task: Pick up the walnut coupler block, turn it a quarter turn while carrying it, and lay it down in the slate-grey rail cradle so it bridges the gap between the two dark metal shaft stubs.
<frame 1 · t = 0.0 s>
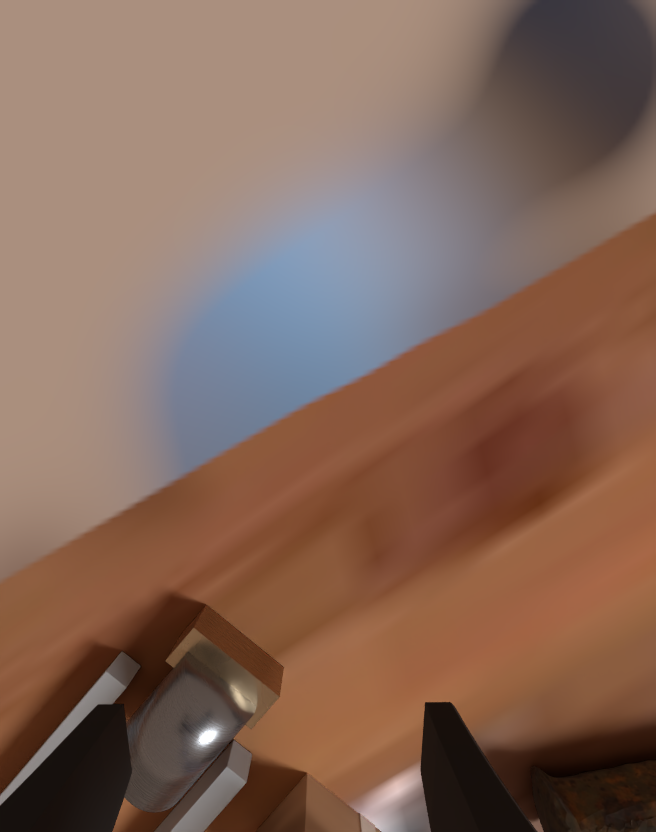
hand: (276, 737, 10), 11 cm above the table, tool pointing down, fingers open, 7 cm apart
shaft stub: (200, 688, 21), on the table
cradle: (99, 805, 21), on the table
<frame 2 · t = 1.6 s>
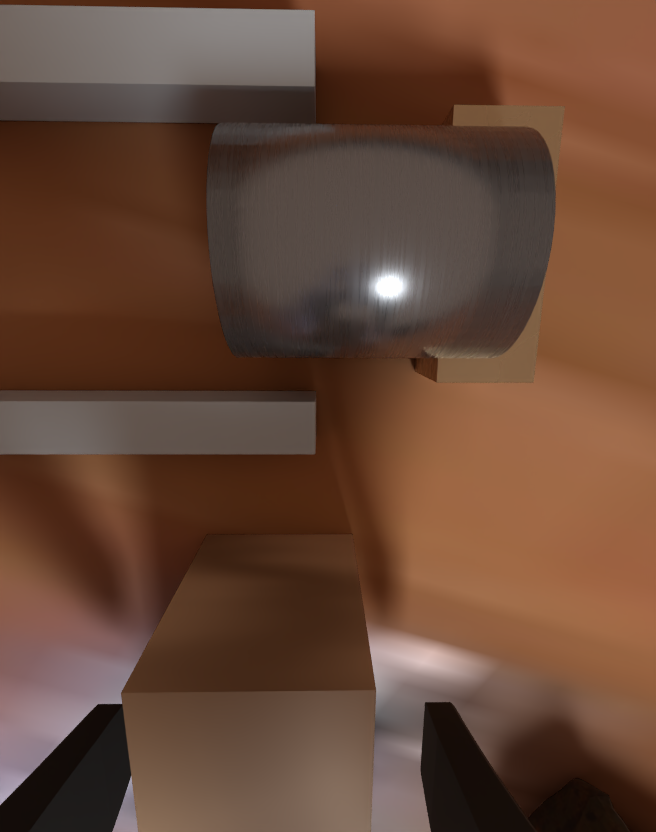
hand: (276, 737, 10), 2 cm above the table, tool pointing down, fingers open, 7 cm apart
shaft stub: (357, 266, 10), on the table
coupler block: (282, 657, 12), on the table
cradle: (18, 264, 10), on the table
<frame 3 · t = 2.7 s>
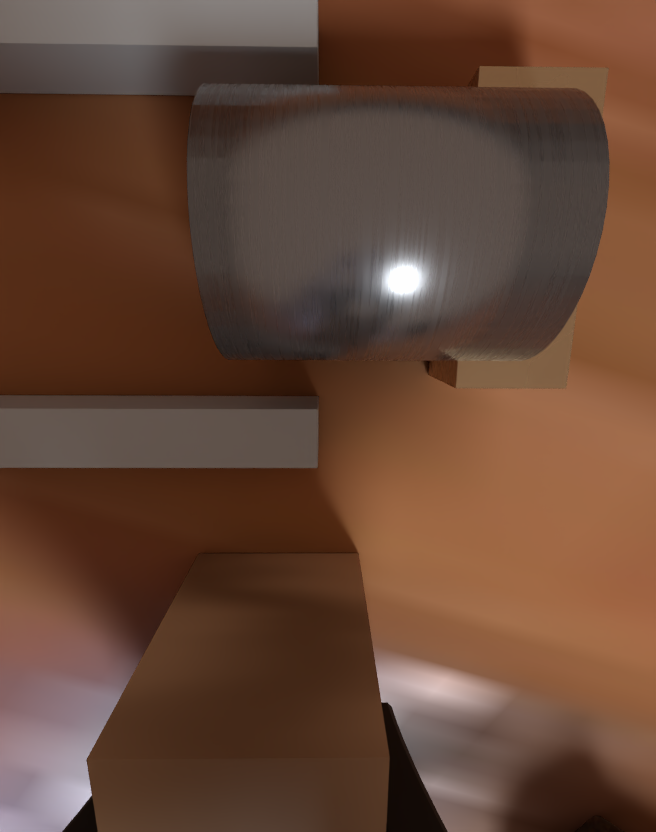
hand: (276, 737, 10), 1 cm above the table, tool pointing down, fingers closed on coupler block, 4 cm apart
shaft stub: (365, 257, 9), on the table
coupler block: (281, 686, 11), on the table, touching gripper
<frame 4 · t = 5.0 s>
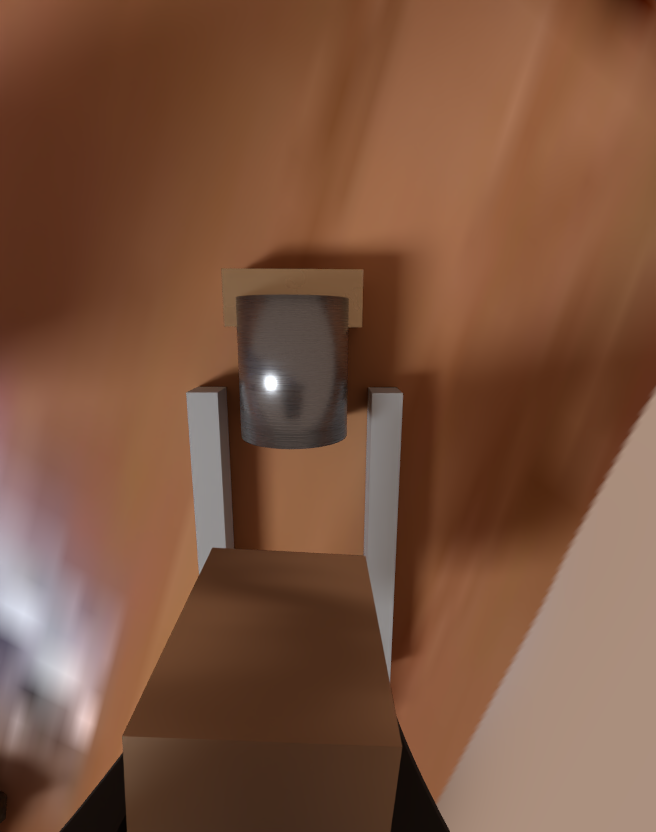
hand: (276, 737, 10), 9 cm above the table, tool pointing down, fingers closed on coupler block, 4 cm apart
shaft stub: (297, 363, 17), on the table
coupler block: (282, 678, 12), point 8 cm above the table, touching gripper
cradle: (299, 537, 19), on the table
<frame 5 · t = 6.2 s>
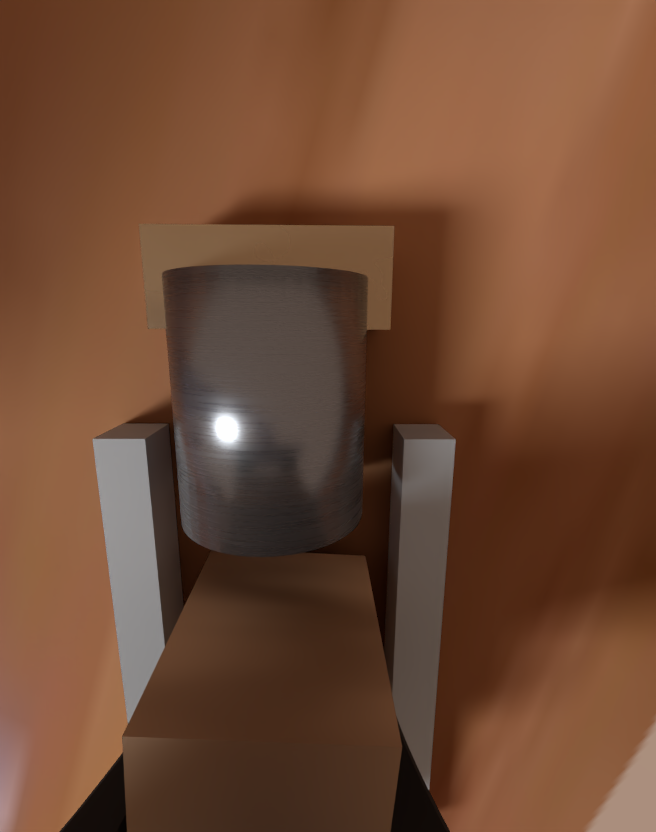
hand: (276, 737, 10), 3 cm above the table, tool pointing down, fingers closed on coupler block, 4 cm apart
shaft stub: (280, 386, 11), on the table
coupler block: (282, 678, 12), point 1 cm above the table, touching gripper
cradle: (286, 647, 13), on the table
when the fingers open (3 cm above the table, at t = 7.1 s): coupler block stays where it is, on the table.
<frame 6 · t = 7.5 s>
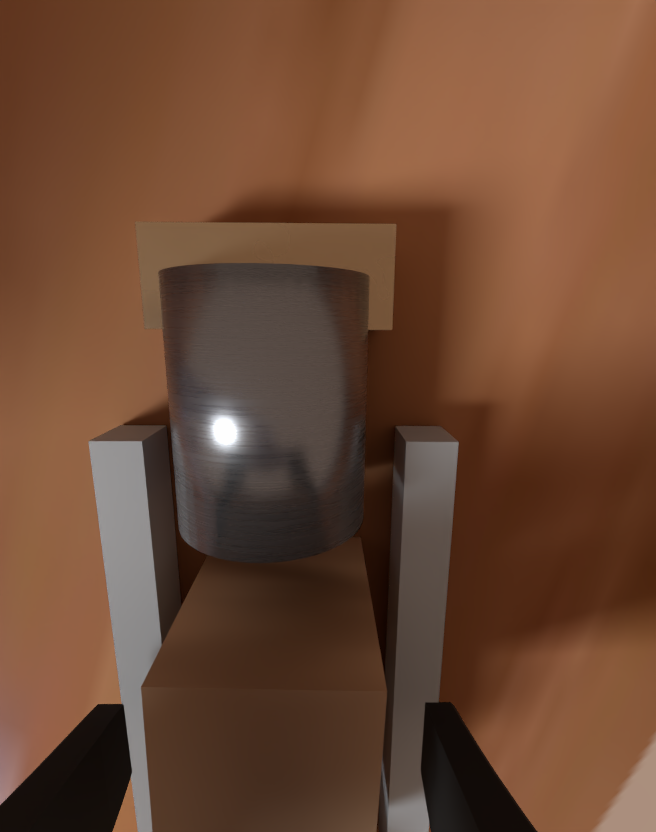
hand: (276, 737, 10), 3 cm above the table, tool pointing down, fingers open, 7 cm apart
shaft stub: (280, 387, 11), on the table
coupler block: (288, 656, 12), on the table
cradle: (285, 652, 12), on the table
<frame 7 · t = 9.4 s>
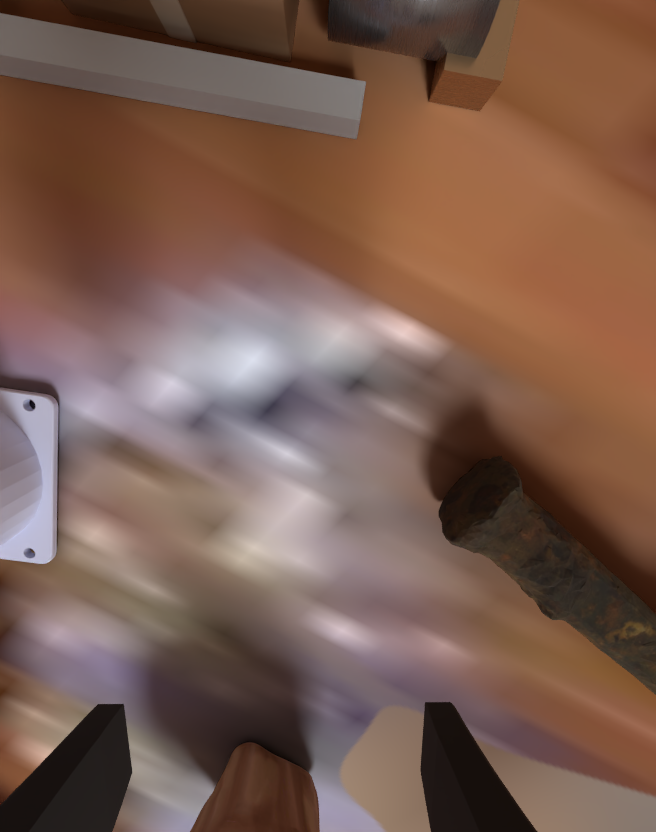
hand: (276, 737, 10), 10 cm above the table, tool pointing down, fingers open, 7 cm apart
dark brown rough bar: (591, 580, 21), on the table
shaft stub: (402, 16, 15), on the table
cupcake: (260, 773, 23), on the table
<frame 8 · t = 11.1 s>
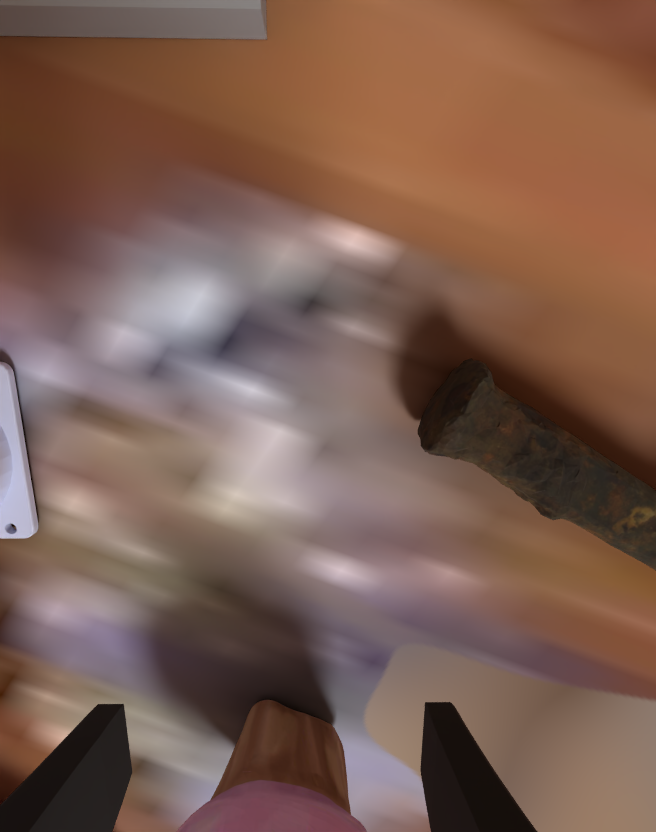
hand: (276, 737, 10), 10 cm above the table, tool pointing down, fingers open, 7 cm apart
dark brown rough bar: (596, 482, 20), on the table
cupcake: (283, 732, 22), on the table
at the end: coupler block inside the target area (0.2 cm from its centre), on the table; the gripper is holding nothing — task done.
